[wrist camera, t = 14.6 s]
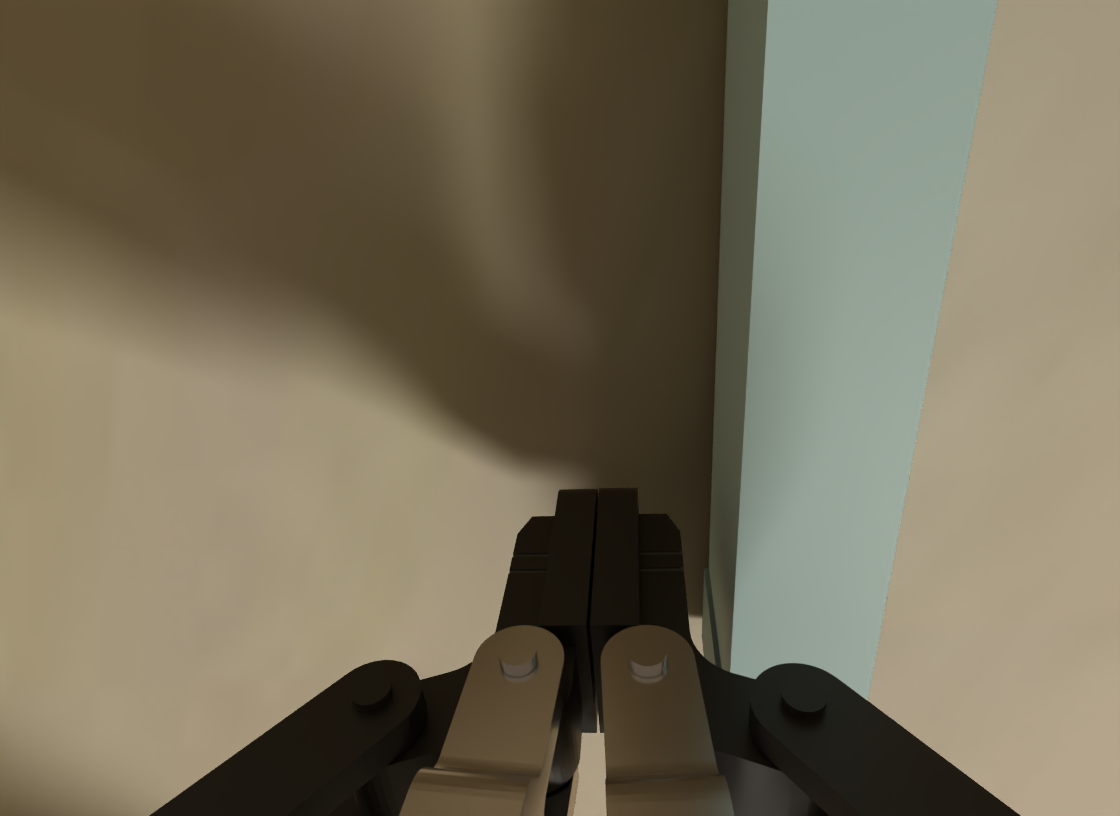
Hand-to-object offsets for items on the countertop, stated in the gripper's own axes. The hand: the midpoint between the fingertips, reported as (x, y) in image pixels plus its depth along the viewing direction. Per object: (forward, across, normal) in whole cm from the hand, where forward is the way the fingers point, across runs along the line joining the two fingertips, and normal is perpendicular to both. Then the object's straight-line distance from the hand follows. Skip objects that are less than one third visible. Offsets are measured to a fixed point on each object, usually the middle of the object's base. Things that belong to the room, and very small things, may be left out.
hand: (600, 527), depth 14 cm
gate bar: (+1, -3, -3) cm, 5 cm away
